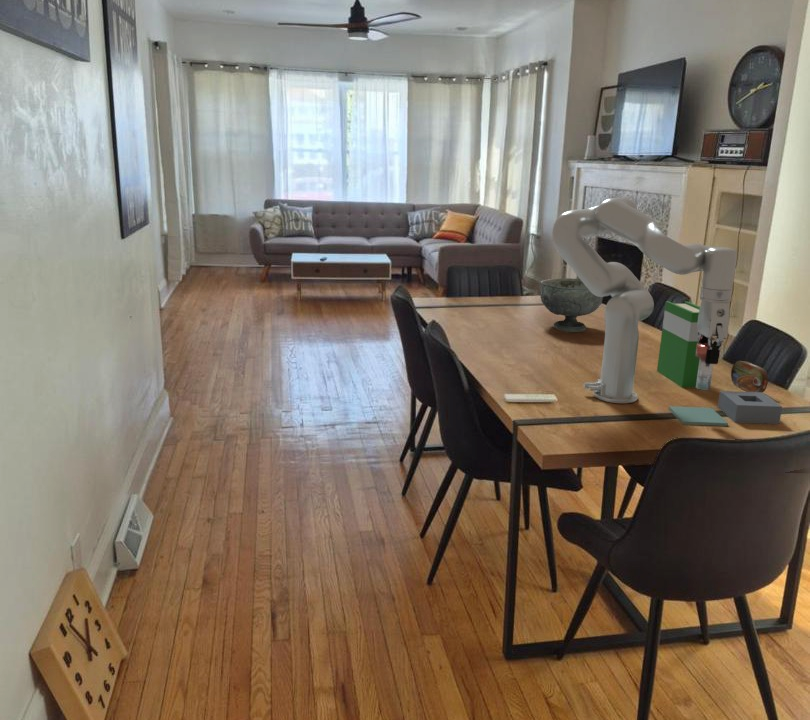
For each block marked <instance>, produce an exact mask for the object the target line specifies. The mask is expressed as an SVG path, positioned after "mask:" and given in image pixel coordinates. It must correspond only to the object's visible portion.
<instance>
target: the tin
mask: <svg viewBox="0 0 810 720" xmlns="http://www.w3.org/2000/svg"><path fill="white" fill-rule="evenodd" d="M730 371H731V372H730V378H731V381H732V383H733V385H734V386H735V387H737V388H739V389H741V390H743V391H744V392H763V393H764V392H765V391H766V389H767V387H768V383H769V376H768V375H769V374H768V372H767V371H766V370H765V368H763V367H761V366H758V365H756V364H753V363H751V362H750V361H742V360H738V361H736V362H734V364H733V365H732V367H731V370H730Z"/></svg>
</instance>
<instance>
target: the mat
mask: <svg viewBox="0 0 810 720" xmlns="http://www.w3.org/2000/svg"><path fill="white" fill-rule="evenodd" d="M668 410H669V411H670V412H671V413H672V414H673V416H675V419H677V420H678V421H679V422H680V423H681V424H682V425H691V426H693V425H695V426H697V425H698V426H716V427H717V426H719V427H720V426H721V427H723V426H724V427H729V422H728V421H726V419H724V418H723V417H722V416H721V415H720V413H718V412H717V411H716V410H715V409H713V408H712V407H700V406H699V407H698V406H697V407H696V406H694V407H692V406H670V405H669V406H668Z"/></svg>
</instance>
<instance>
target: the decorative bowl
mask: <svg viewBox="0 0 810 720" xmlns="http://www.w3.org/2000/svg"><path fill="white" fill-rule="evenodd" d="M539 296H540V301H541V303H542V304H543V305H544V306H545V308H546V310H548V311H549V312H550V313H552V314H554V315H557V316H564V317H565V318H564V319H563V320H558V321H555V322H554V323H553V328H554V329H556V330H558V331H561V332H568V333H581V332H585V331H586V330H587V327H586V325H585V324H584V323H583V322H581V321H578V319H577V318H578V317H582V316H586V315H590V314H591V313H594V312H595V311H597V309H599V308H600V306H601V305H602V302H603V299H604V297H598V296H595V295H594V294H592V293H591V292H590V291H589V289H588V288H587V287H586V286H585V284H584V283H583V282H582V281H581V280H580V278H567V277H566V278H550V279H545V280H544V279H543V280H541V282H540V295H539Z"/></svg>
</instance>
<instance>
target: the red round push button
mask: <svg viewBox="0 0 810 720" xmlns="http://www.w3.org/2000/svg"><path fill="white" fill-rule="evenodd" d="M707 349H709V347H708V343H698V344H697V347H696V354H695V355H696V356H697V357H699V358H700V360H699V367H698V375H697V382H696V387H695V388H696V389H699V390H702V391H709V390H710V389H711V383H712V377H713V376H712V375H713V370H714V364H706V363H705V359H706V352H707ZM720 354H721V349H720V352H719V357H720V356H721V355H720Z"/></svg>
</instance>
